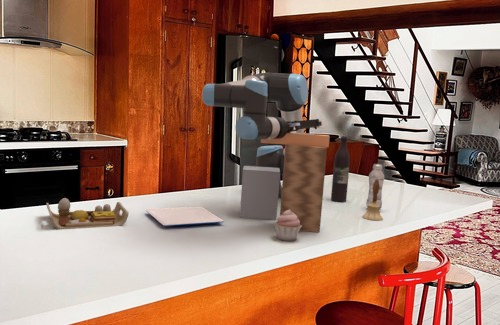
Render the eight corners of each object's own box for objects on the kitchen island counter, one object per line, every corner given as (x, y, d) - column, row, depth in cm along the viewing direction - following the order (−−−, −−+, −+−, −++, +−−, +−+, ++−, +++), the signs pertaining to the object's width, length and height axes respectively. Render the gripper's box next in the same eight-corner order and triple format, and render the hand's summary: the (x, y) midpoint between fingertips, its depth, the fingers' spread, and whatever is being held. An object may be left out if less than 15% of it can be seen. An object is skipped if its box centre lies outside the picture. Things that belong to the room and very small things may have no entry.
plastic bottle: (381, 212, 218) (386, 166, 215) (365, 210, 219) (370, 164, 217) (381, 208, 224) (385, 164, 222) (365, 207, 226) (369, 162, 223)
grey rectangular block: (239, 217, 194) (242, 169, 191) (241, 211, 204) (244, 165, 201) (276, 219, 193) (280, 172, 191) (275, 213, 203) (279, 168, 201)
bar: (260, 142, 179) (261, 131, 179) (260, 141, 183) (261, 130, 183) (328, 147, 179) (329, 135, 178) (327, 146, 183) (328, 134, 182)
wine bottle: (329, 200, 234) (334, 136, 230) (332, 198, 241) (338, 135, 237) (344, 203, 232) (350, 137, 227) (347, 200, 238) (353, 136, 234)
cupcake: (293, 244, 163) (295, 214, 162) (267, 238, 168) (269, 209, 167) (305, 238, 171) (308, 209, 170) (281, 232, 176) (283, 204, 175)
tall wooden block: (280, 229, 180) (286, 145, 176) (279, 222, 190) (285, 142, 186) (319, 232, 180) (326, 148, 176) (316, 224, 190) (323, 145, 186)
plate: (163, 230, 170) (163, 224, 170) (144, 214, 190) (145, 208, 190) (224, 226, 181) (224, 220, 180) (200, 211, 200) (200, 206, 200)
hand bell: (383, 217, 209) (387, 179, 207) (382, 221, 201) (386, 182, 199) (363, 214, 212) (367, 176, 209) (360, 218, 204) (364, 179, 202)
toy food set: (49, 231, 162) (50, 208, 161) (45, 217, 178) (45, 195, 177) (129, 226, 173) (130, 204, 172) (118, 213, 189) (119, 193, 188)
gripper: (248, 144, 184) (285, 143, 200) (302, 132, 167) (338, 131, 183) (245, 124, 185) (282, 124, 200) (299, 109, 168) (335, 111, 183)
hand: (309, 127), depth 192 cm, fingers open, 13 cm apart
